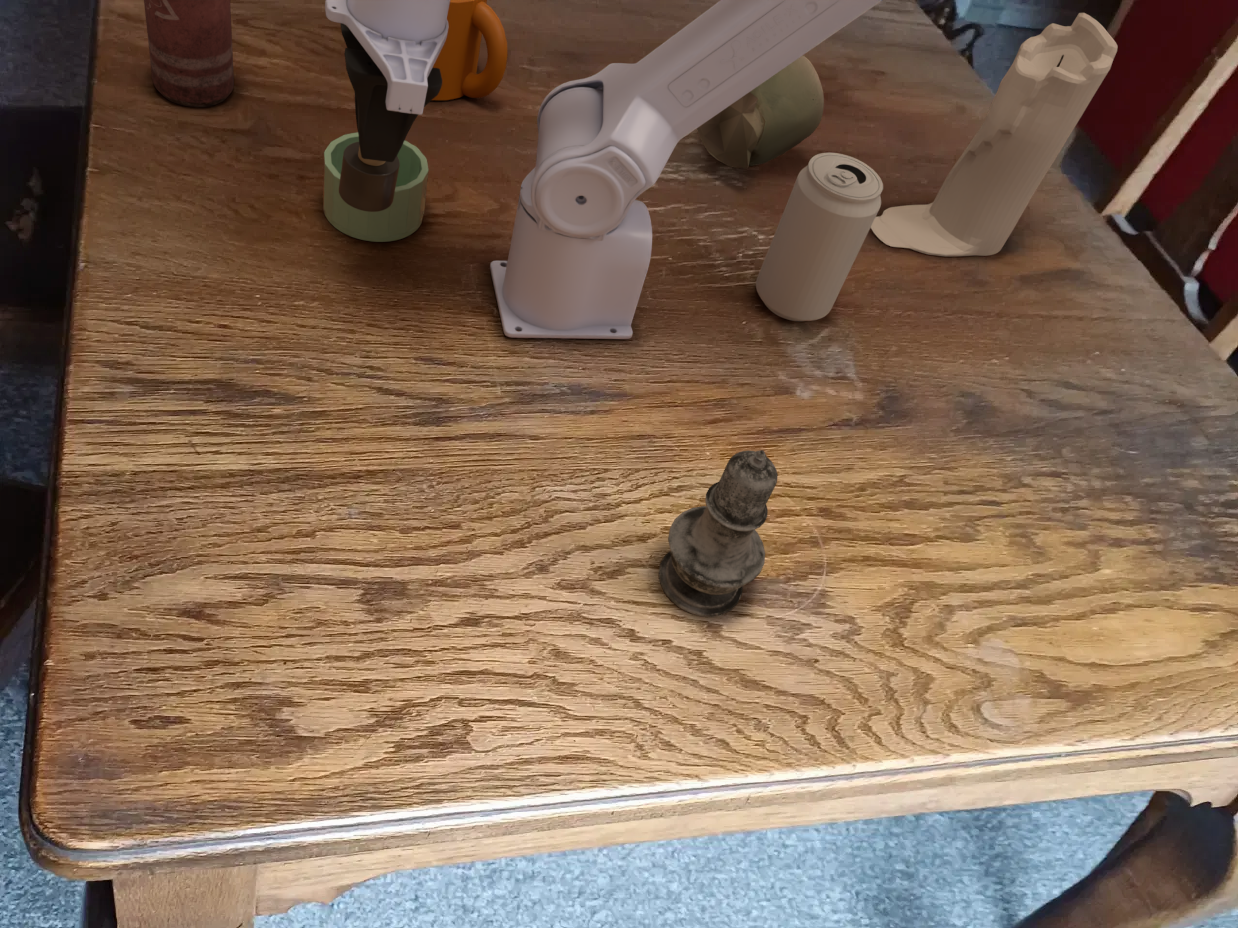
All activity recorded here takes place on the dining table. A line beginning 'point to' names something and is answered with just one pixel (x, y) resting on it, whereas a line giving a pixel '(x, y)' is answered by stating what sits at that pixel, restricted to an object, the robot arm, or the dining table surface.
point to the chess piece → (720, 539)
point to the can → (191, 50)
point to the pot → (385, 223)
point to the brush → (367, 180)
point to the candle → (1009, 145)
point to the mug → (471, 51)
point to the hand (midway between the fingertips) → (375, 146)
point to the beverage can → (819, 236)
